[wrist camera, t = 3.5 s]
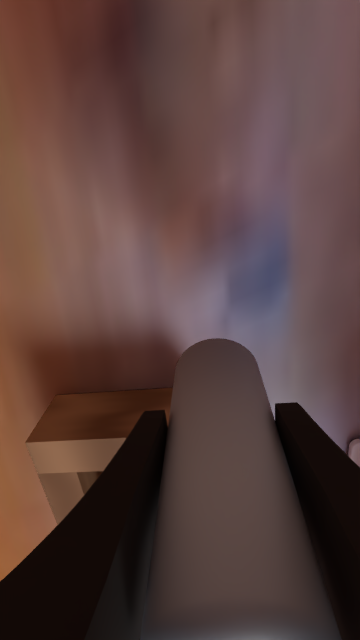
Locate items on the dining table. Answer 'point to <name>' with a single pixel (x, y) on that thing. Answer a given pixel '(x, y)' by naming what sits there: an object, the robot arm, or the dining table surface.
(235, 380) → the dowel
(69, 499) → the socket block
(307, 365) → the dining table surface
